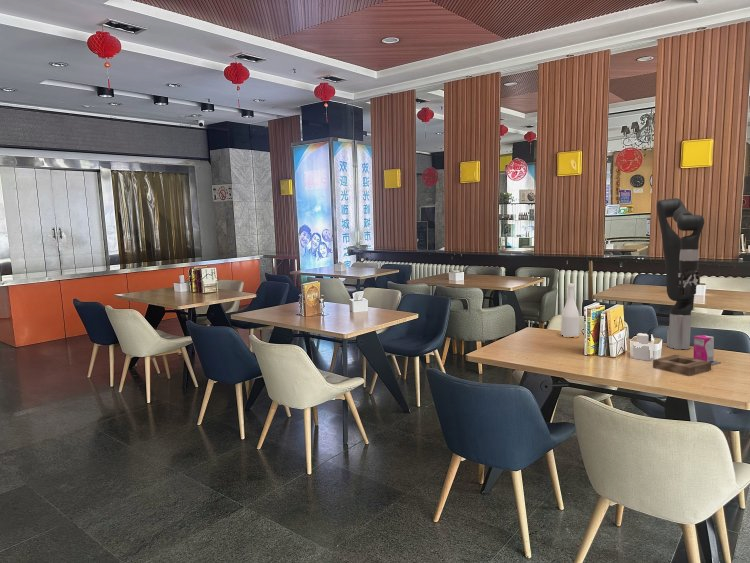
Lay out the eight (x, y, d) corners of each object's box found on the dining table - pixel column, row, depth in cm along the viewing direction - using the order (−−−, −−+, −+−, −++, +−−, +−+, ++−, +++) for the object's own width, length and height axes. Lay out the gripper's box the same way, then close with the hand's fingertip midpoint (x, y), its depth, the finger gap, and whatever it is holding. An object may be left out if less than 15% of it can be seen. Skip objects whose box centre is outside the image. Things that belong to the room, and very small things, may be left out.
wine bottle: (562, 338, 297) (563, 284, 294) (559, 334, 306) (560, 282, 303) (580, 338, 296) (581, 284, 292) (577, 334, 305) (578, 282, 302)
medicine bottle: (638, 355, 256) (638, 331, 254) (654, 358, 250) (654, 333, 249) (632, 358, 251) (633, 333, 249) (648, 361, 246) (649, 335, 244)
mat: (685, 361, 243) (685, 360, 243) (698, 358, 248) (698, 357, 248) (708, 366, 234) (708, 365, 234) (720, 363, 239) (720, 362, 239)
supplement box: (701, 359, 245) (702, 334, 244) (713, 362, 240) (714, 337, 238) (692, 360, 243) (693, 335, 242) (704, 363, 238) (705, 338, 236)
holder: (652, 367, 235) (653, 359, 234) (674, 362, 242) (674, 354, 242) (689, 376, 221) (689, 367, 220) (711, 370, 229) (711, 362, 228)
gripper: (689, 258, 248) (688, 292, 250) (671, 259, 241) (670, 295, 243) (706, 259, 242) (705, 294, 243) (688, 260, 235) (686, 297, 236)
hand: (687, 294), depth 243 cm, fingers open, 8 cm apart
